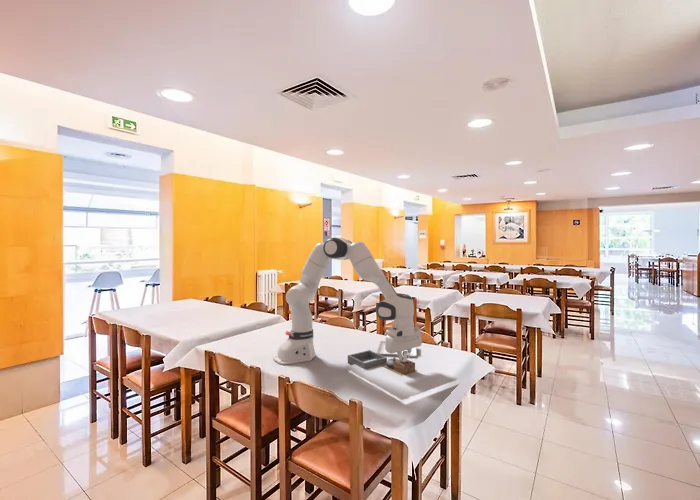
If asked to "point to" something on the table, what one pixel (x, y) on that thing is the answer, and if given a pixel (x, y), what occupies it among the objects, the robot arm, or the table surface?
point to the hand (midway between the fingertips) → (404, 358)
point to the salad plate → (383, 352)
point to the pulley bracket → (400, 366)
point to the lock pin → (404, 353)
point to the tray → (366, 359)
